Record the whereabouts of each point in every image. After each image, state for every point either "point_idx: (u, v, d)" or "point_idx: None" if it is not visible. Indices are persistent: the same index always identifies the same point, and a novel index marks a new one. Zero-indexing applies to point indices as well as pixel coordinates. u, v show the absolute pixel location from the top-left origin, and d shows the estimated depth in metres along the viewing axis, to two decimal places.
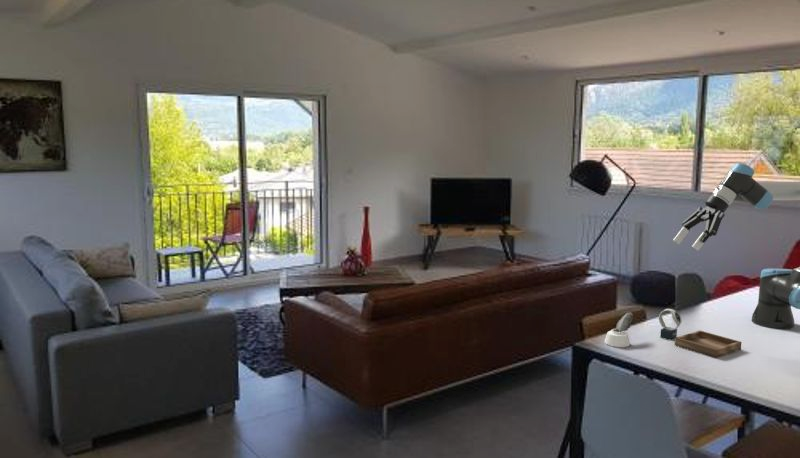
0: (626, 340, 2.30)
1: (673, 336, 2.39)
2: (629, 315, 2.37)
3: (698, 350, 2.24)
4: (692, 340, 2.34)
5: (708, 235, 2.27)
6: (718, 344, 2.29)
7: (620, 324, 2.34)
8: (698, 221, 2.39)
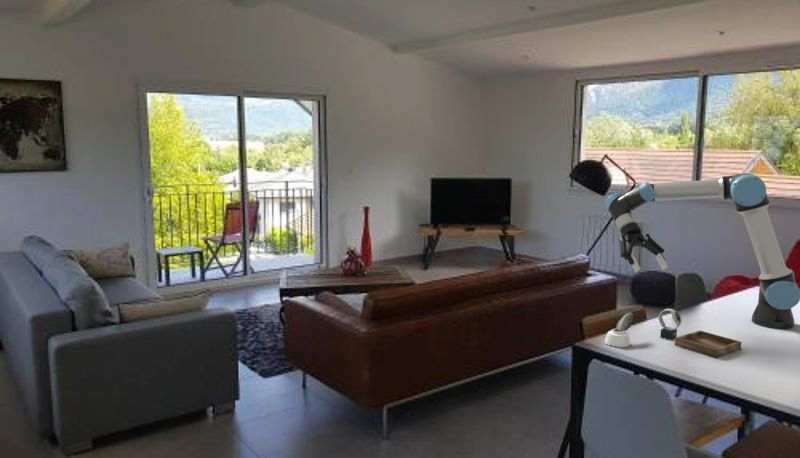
0: (626, 340, 2.30)
1: (673, 336, 2.39)
2: (629, 315, 2.37)
3: (698, 350, 2.24)
4: (692, 340, 2.34)
5: (627, 257, 2.48)
6: (718, 344, 2.29)
7: (620, 324, 2.34)
8: (647, 245, 2.54)
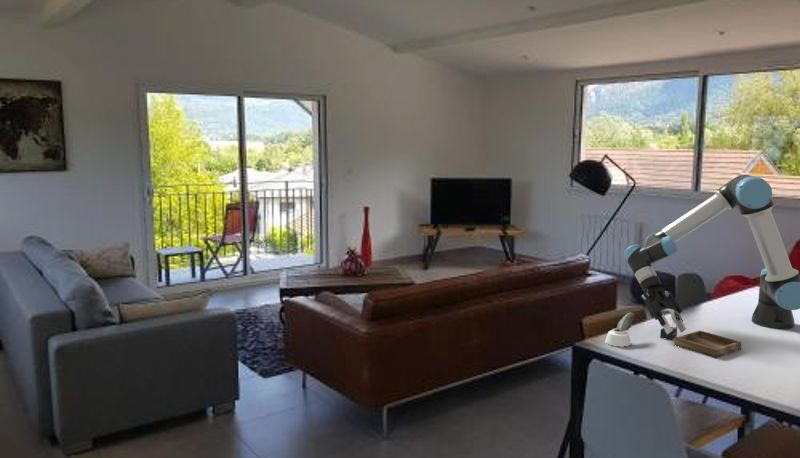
0: (626, 340, 2.30)
1: (673, 336, 2.39)
2: (630, 315, 2.37)
3: (698, 350, 2.24)
4: (692, 340, 2.34)
5: (658, 318, 2.39)
6: (718, 344, 2.29)
7: (621, 324, 2.34)
8: (666, 302, 2.44)
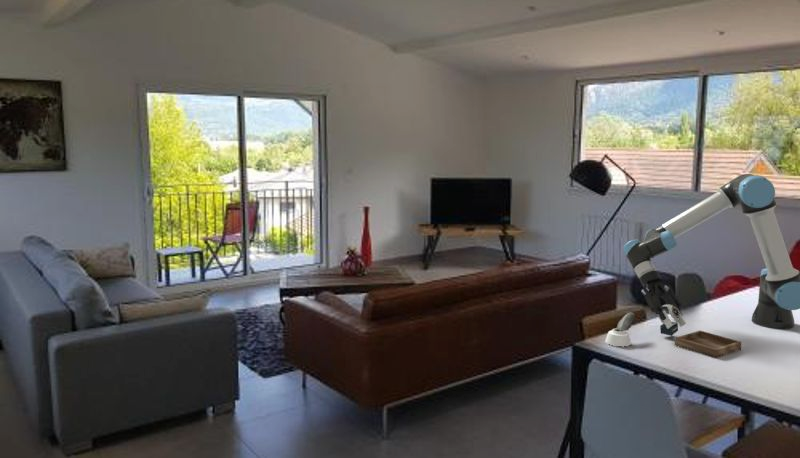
0: (627, 340, 2.30)
1: (673, 331, 2.39)
2: (630, 315, 2.38)
3: (698, 350, 2.24)
4: (692, 340, 2.34)
5: (659, 312, 2.39)
6: (718, 344, 2.29)
7: (621, 324, 2.34)
8: (666, 297, 2.44)
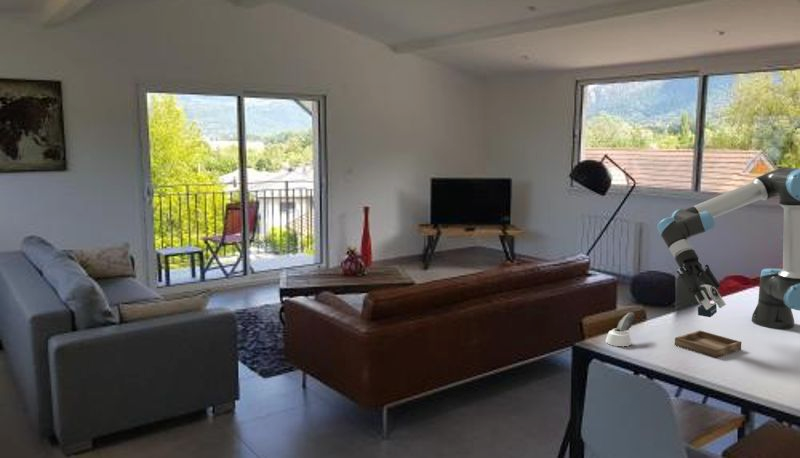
0: (627, 340, 2.31)
1: (712, 313, 2.26)
2: (630, 315, 2.38)
3: (698, 350, 2.24)
4: (692, 340, 2.34)
5: (697, 292, 2.26)
6: (718, 344, 2.29)
7: (621, 324, 2.34)
8: (703, 277, 2.31)
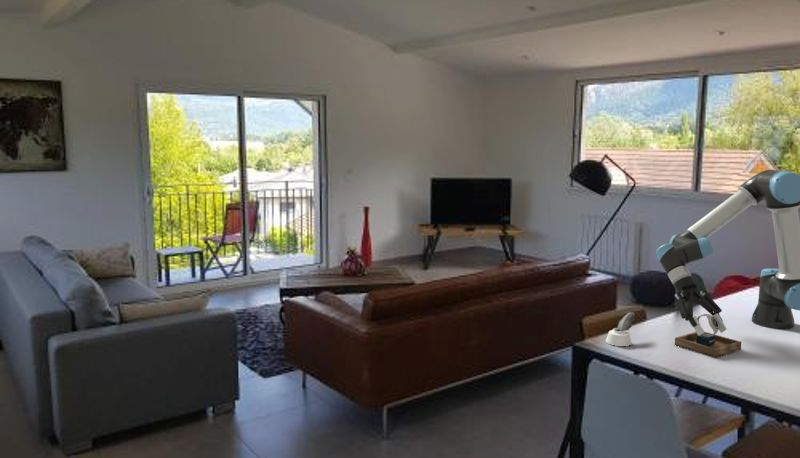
0: (627, 340, 2.31)
1: (710, 343, 2.28)
2: (631, 315, 2.38)
3: (698, 350, 2.24)
4: (692, 340, 2.34)
5: (689, 318, 2.27)
6: (718, 344, 2.29)
7: (622, 324, 2.35)
8: (703, 303, 2.33)
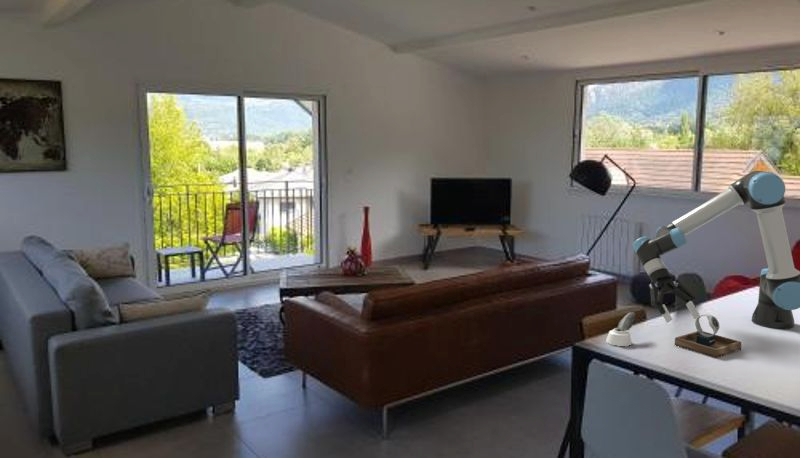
0: (627, 340, 2.31)
1: (710, 343, 2.28)
2: (631, 315, 2.38)
3: (698, 350, 2.24)
4: (692, 340, 2.34)
5: (658, 306, 2.40)
6: (718, 344, 2.29)
7: (622, 324, 2.35)
8: (678, 292, 2.46)
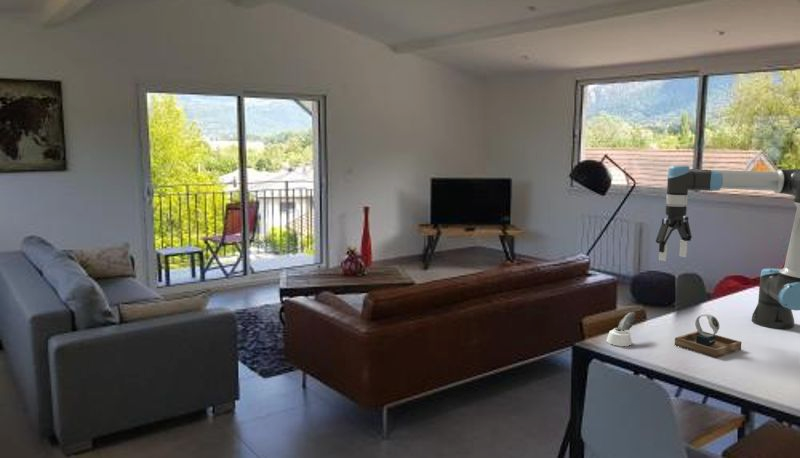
0: (628, 340, 2.31)
1: (710, 343, 2.28)
2: (631, 314, 2.38)
3: (698, 350, 2.24)
4: (692, 340, 2.34)
5: (661, 244, 2.42)
6: (718, 344, 2.29)
7: (622, 324, 2.35)
8: (681, 230, 2.48)
